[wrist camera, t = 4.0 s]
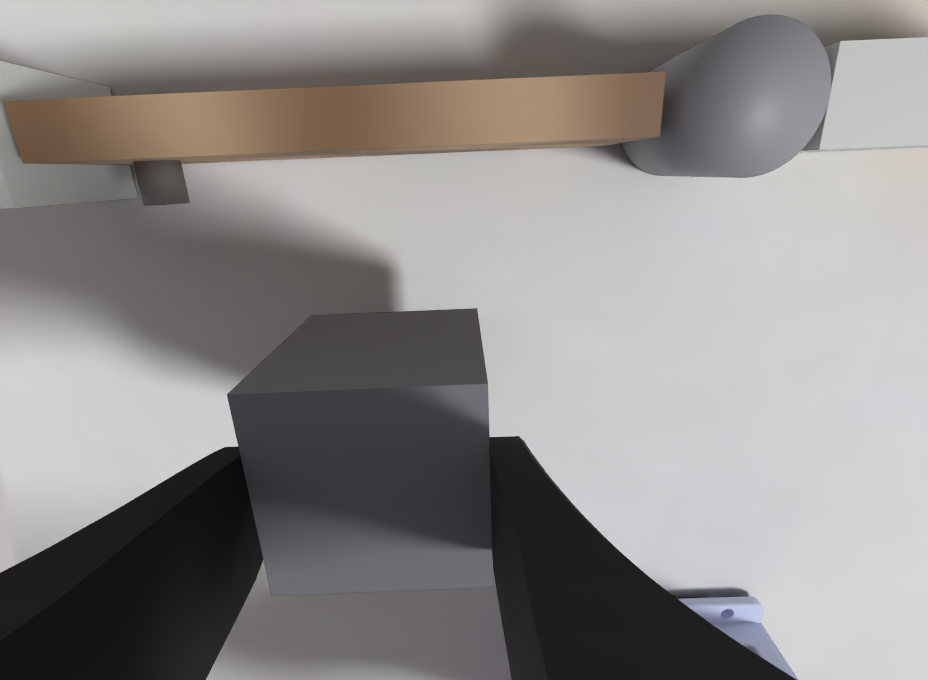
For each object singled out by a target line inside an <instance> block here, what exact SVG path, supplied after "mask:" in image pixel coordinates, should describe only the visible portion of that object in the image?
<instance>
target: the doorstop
mask: <svg viewBox="0 0 928 680" xmlns="http://www.w3.org/2000/svg"><path fill="white" fill-rule="evenodd" d="M227 397H228V401H229V406H230V410H231V415H232V419H233V424H234V428H235V433H236V438H237V442H238V447H239V451H240V456H241V460H242V465H243V469H244V474H245V478H246V483H247V487H248V492H249V496H250V501H251V505H252V510H253V514H254V519H255V523H256V528H257V532H258V537H259V542H260V546H261V551H262V555H263V560H264V564H265V569H266V573H267V578H268V582H269V587H270V591H271V596H284V595H309V594H333V593H358V592H382V591H406V590H431V589H455V588H480V587H493V564H492V531H491V493H490V454H489V409H488V381H487V374H486V368H485V361H484V354H483V347H482V340H481V333H480V326H479V320H478V313H477V308H476V309H452V310H428V311H404V312H380V313H356V314H332V315H312V316H310V317H309V318H308V319H307V320H306V321H305V322H304V323H303V324H302V325H301V326H300V327H299V328H298V329H297V330H295V331H294V332H293V333H292V334H291V335H290V336H289V337H288V338H287V339H286V340H285V341H284V342H283V343H282V344H281V345H279V346H278V347H277V348H276V349H275V350H274V351H273V352H272V353H271V354H270V355H269V356H268V357H267V358H266V359H264V360H263V361H262V362H261V363H260V364H259V365H258V366H257V367H256V368H255V369H254V370H253V371H252V372H251V373H250V374H248V375H247V376H246V377H245V378H244V379H243V380H242V381H241V382H240V383H239V384H238V385H237V386H236V387H235V388H233V389H232V390H231V391H230V392H229V393H228V394H227Z"/></svg>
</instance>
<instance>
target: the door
mask: <svg viewBox="0 0 928 680" xmlns="http://www.w3.org/2000/svg"><path fill="white" fill-rule="evenodd" d="M665 75H666V72H644V73H621V74H598V75H576V76H553V77H531V78H508V79H485V80H463V81H440V82H418V83H395V84H372V85H350V86H327V87H304V88H282V89H259V90H237V91H214V92H191V93H169V94H146V95H124V96H101V97H78V98H56V99H33V100H10V101H2V102H3V105H4V108H5V111H6V114H7V117H8V120H9V123H10V126H11V129H12V132H13V135H14V138H15V141H16V144H17V147H18V150H19V154H20V157H21V160H22V163H23V164H81V165H134V168H135V172H136V176H137V180H138V184H139V188H140V192H141V196H142V200H143V203H144V205H166V204H181V203H190V201H189V196H188V192H187V187H186V183H185V179H184V174H183V170H182V165H181V164H190V163H213V162H237V161H260V160H284V159H307V158H331V157H354V156H378V155H401V154H424V153H448V152H471V151H495V150H518V149H542V148H565V147H589V146H607V145H613V144H619V143H624V142H630V141H636V140H641V139H647V138H653V137H659V136H660V130H661V119H662V108H663V97H664V86H665Z"/></svg>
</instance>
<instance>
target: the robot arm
mask: <svg viewBox="0 0 928 680" xmlns="http://www.w3.org/2000/svg"><path fill="white" fill-rule="evenodd" d="M489 454H490V493H491V531H492V557H493V571H494V577H495V583H496V589H497V595H498V601H499V607H500V613H501V619H502V624H503V630H504V636H505V642H506V648H507V654H508V660H509V665H510V671H511V677H512V680H798V678H797V677H796V675H795V674H794V672H793V671H792V669H791V668H790V666H789V665H788V663H787V662H786V660H785V659H784V657H783V655H782V654H781V652H780V651H779V649H778V648H777V646H776V645H775V643H774V642H773V640H772V639H771V637H770V636H769V634H768V633H767V631H766V630H765V628H764V627H763V625H762V624H761V621H762V617H763V612H764V608H763V607H762V605H761V604H760V602H759V601H758V599H756V598H754V597H749V596H746V597H716V598H685V599H677V598H675V597H674V596H673V595H671V594H670V593H669V592H667V591H666V590H665V589H664V588H662V587H661V586H660V585H658V584H657V583H656V582H655V581H653V580H652V579H651V578H650V577H648V576H647V575H646V574H645V573H644V572H643V571H641V570H640V569H639V568H638V567H637V566H636V565H634V564H633V563H632V562H631V561H630V560H629V559H628V558H626V557H625V556H624V555H623V554H622V553H621V552H620V551H619V550H618V549H617V548H615V547H614V546H613V545H612V544H611V543H610V542H609V541H608V540H607V539H606V538H605V537H604V536H603V535H602V534H601V533H600V532H599V531H598V530H597V529H596V528H595V527H594V526H593V525H592V524H591V523H590V522H589V521H588V520H587V519H586V518H585V517H584V516H583V515H582V514H581V512H580V511H579V510H578V509H577V508H576V507H575V506H574V505H573V504H572V503H571V501H570V500H569V499H568V498H567V497H566V496H565V494H564V493H563V492H562V491H561V490H560V489H559V487H558V486H557V485H556V484H555V483H554V482H553V480H552V479H551V478H550V477H549V475H548V474H547V473H546V471H545V470H544V469H543V468H542V466H541V465H540V464H539V462H538V461H537V460H536V458H535V457H534V455H533V454H532V453H531V451H530V450H529V448H528V447H527V445H526V444H525V442H524V441H523V440H522V439H521V438H520V437H519V436H515V437H489ZM262 561H263V555H262V551H261V546H260V542H259V537H258V532H257V528H256V523H255V519H254V514H253V510H252V505H251V501H250V496H249V492H248V487H247V483H246V478H245V474H244V469H243V465H242V460H241V456H240V451H239V447H224V448H222V449H220V450H218V451H216V452H214V453H212V454H210V455H208V456H206V457H205V458H203V459H201V460H199V461H197V462H196V463H194V464H192V465H191V466H189V467H187V468H185V469H184V470H182V471H180V472H179V473H177V474H175V475H174V476H172V477H170V478H169V479H167V480H165V481H164V482H162V483H160V484H159V485H157V486H155V487H154V488H152V489H150V490H149V491H147V492H145V493H144V494H142V495H140V496H139V497H137V498H135V499H134V500H132V501H130V502H129V503H127V504H125V505H124V506H122V507H120V508H118V509H117V510H115V511H113V512H111V513H110V514H108V515H106V516H104V517H103V518H101V519H99V520H97V521H95V522H94V523H92V524H90V525H88V526H87V527H85V528H83V529H81V530H79V531H78V532H76V533H74V534H72V535H71V536H69V537H67V538H65V539H63V540H62V541H60V542H58V543H56V544H55V545H53V546H51V547H49V548H47V549H45V550H44V551H42V552H40V553H38V554H36V555H34V556H32V557H30V558H28V559H26V560H25V561H23V562H21V563H19V564H17V565H15V566H13V567H11V568H9V569H7V570H5V571H3V572H1V573H0V680H206V678H207V676H208V674H209V672H210V670H211V668H212V666H213V664H214V662H215V660H216V658H217V656H218V654H219V652H220V650H221V648H222V646H223V644H224V642H225V640H226V638H227V636H228V634H229V632H230V631H231V629H232V627H233V625H234V623H235V621H236V619H237V617H238V615H239V613H240V611H241V609H242V607H243V605H244V603H245V600H246V598H247V596H248V594H249V592H250V590H251V588H252V586H253V584H254V582H255V580H256V578H257V575H258V572H259V570H260V567H261V564H262Z"/></svg>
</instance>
